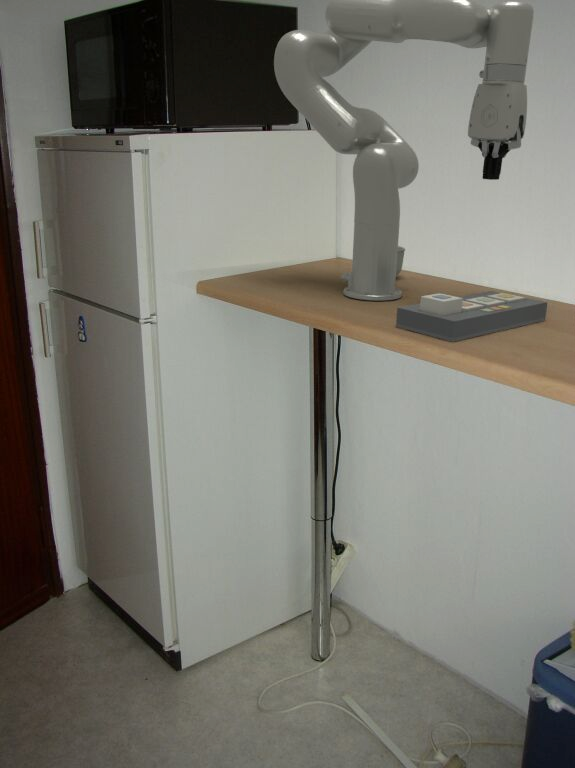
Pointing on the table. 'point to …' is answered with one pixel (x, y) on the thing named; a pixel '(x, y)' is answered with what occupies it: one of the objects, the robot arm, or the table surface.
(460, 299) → the key slate
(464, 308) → the key terracotta
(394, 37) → the robot arm
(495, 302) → the key sage
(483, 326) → the keypad base
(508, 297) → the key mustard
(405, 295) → the table surface
